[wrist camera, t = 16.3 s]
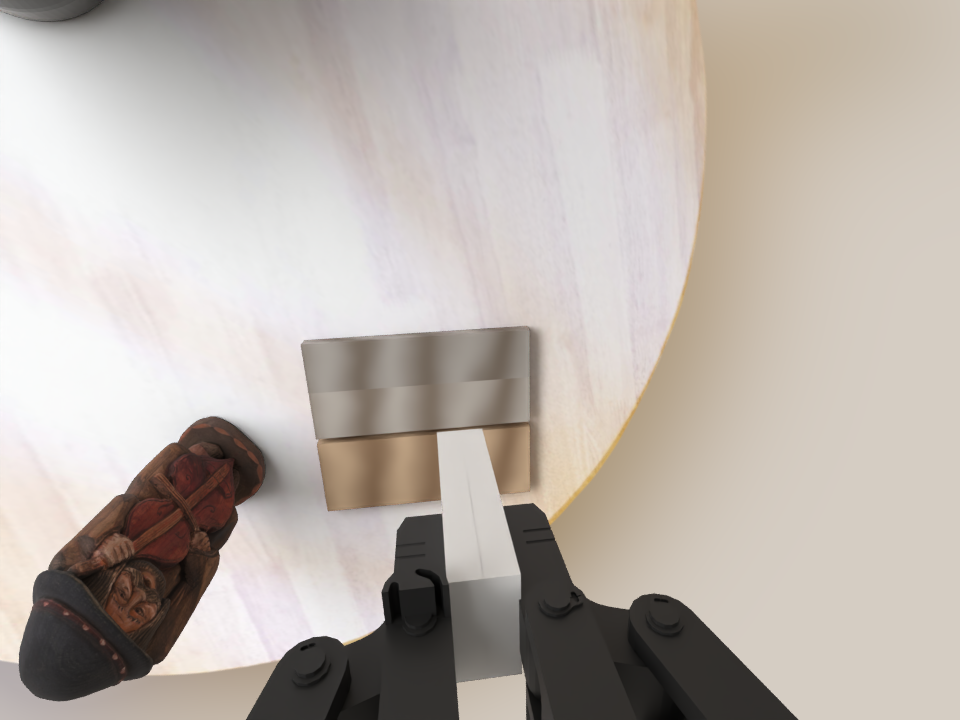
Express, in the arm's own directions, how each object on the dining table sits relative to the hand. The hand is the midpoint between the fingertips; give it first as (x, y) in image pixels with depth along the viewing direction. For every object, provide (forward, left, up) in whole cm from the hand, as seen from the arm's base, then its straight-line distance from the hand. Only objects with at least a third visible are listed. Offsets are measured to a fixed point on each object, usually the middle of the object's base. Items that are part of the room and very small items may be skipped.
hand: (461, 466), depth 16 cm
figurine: (-23, -16, -33) cm, 43 cm away
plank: (-2, -19, -32) cm, 37 cm away
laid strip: (-2, -9, -32) cm, 34 cm away
